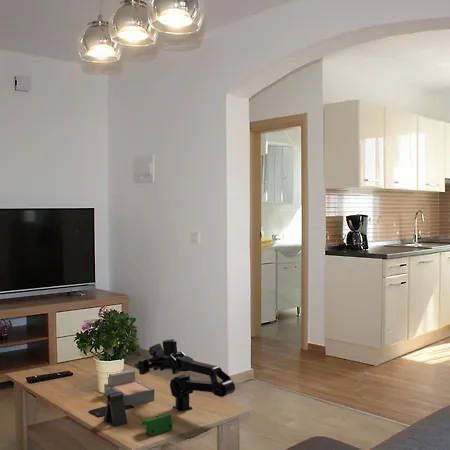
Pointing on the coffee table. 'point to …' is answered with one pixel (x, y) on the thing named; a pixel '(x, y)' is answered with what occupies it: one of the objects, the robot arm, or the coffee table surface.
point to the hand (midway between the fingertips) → (141, 362)
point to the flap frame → (132, 395)
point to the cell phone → (101, 411)
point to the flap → (125, 382)
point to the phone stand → (115, 410)
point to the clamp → (158, 424)
